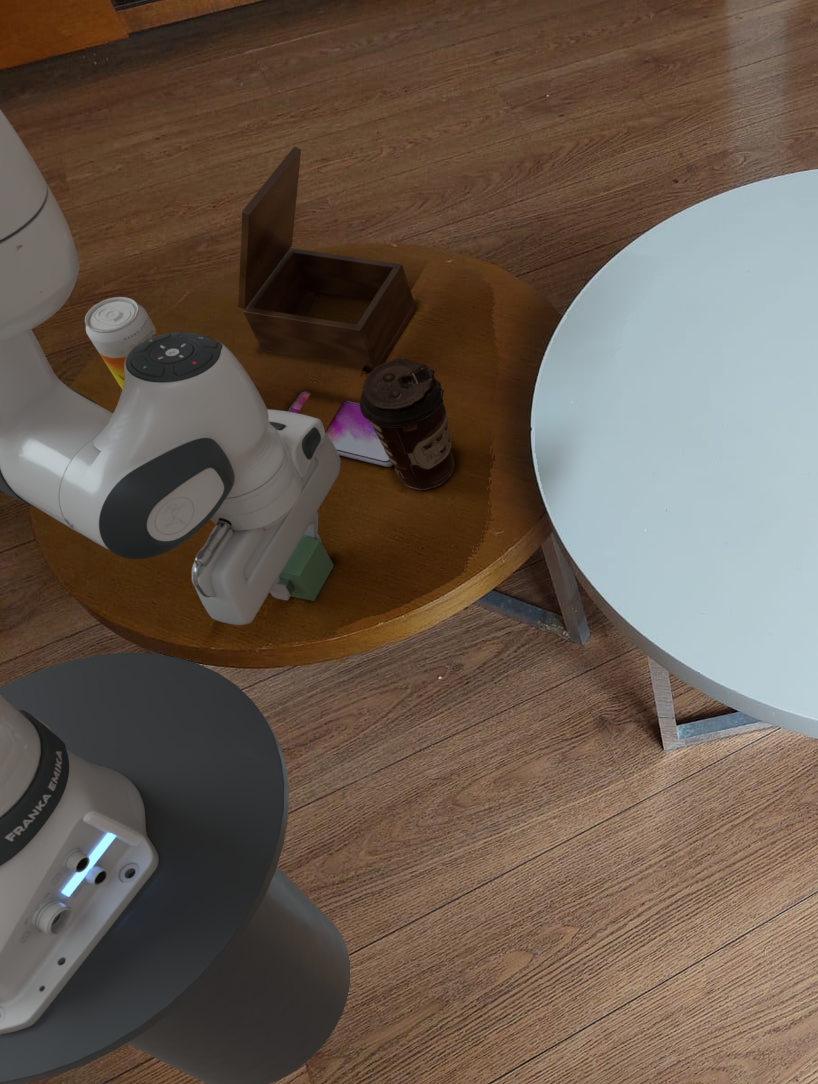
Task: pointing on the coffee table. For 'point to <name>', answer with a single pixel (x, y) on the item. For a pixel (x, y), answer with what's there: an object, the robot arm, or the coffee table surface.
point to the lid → (268, 227)
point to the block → (307, 568)
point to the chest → (291, 332)
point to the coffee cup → (410, 421)
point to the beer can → (118, 331)
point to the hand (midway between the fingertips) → (298, 569)
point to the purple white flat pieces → (351, 433)
